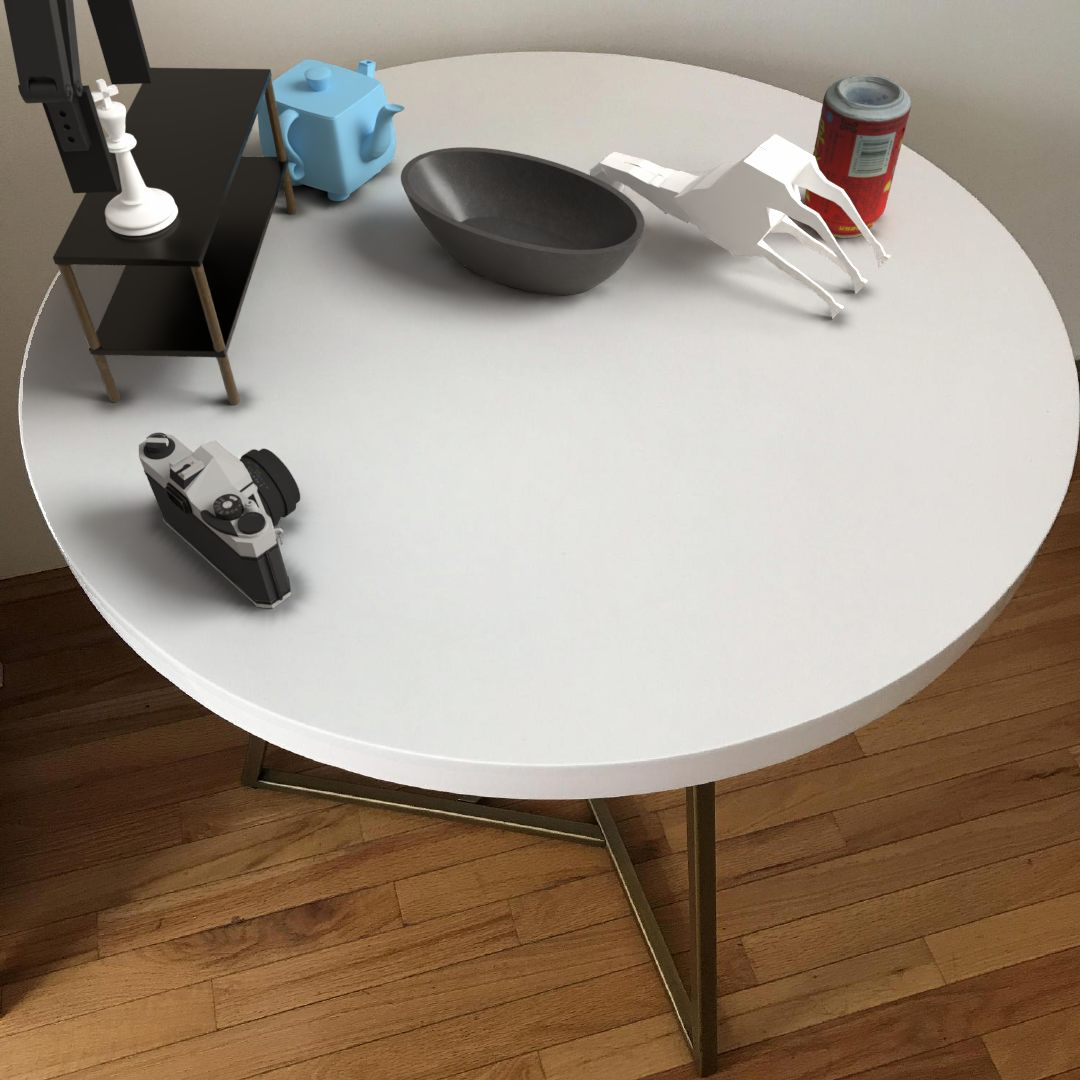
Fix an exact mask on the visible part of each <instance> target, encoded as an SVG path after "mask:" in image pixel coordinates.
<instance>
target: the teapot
mask: <svg viewBox="0 0 1080 1080" xmlns="http://www.w3.org/2000/svg"><path fill="white" fill-rule="evenodd" d="M376 65H377V64H376V61H374V60H371V59H364V60H361V61H358V65H357V68H356V70H355V71H354V70H352V69H348V68H345V67H341V66H338V65H336V64H335V65H334V64H330V63H327V62H324V61H319V60H315V59H307V58H306V59H304V60H303V61H301V62H300V63H298V64H296V65H295V66H293V67H291V68H290V69H289V70H287V71H286V72H284V73H282V74H281V75H280V76H278V77H277V78H275V79H274V80H272V84H273V89H274V95H275V100H276V105H277V110H278V116H279V121H280V126H281V131H282V136H283V142H284V147H285V152H286V157H287V158H288V168H289V173H290V178H291V183H292V187H296V186H297V187H298V186H302V185H305V186H307V187H311V188H314V189H317V190H321V191H324V192H327V198H328V199H329V200H330V201H334V202H341V201H345V200H347V199H348V198H349V197H351V196H350V195H351V194H352V193H354V192H355V191H356V190H358V189H359V188H360V187H362V186H363V185H365V183H367V182H368V181H369V180H371V179H372V178H374V176H376V175H377V174H379V173H380V172H381V171H382V170H383V169H384V168H385V167H386V166H387V165H389V163H390V162H392V161H394V158H395V156H396V151H397V150H396V148H397V139H396V131H395V126H394V120H393V119H394V116H395V115H396V114H398V113H400V112H403V111H405V107H404V106H403V105H401V104H395V103H389V101H388V97H387V94H386V91H385V87H384V85H383V84H384V83H382V82H381V81H379V80H378V79H376V78H375V77H376ZM257 124H258V125H257V126H258V135H259V142H260V143H259V144H260V148H261V149H260V150H261V154H262V157H277V155H276V150H275V145H274V140H273V135H272V129H271V124H270V119H269V114H268V109H267V104H266V99H265V95H264V98H263V100H262V103H261V106H260V108H259V111H258V114H257Z"/></svg>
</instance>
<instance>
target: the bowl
mask: <svg viewBox="0 0 1080 1080" xmlns="http://www.w3.org/2000/svg"><path fill="white" fill-rule="evenodd" d="M400 182H401V186H402V188H403V190H404V193H405V195H406V197H407V199H408V201H409V203H410V205H411V207H412V208H413V211H414V212H415V213H416V215H417V217H418V218H419V220H420V221H421V222H422V224H423V226H424V227H425V228H426V230H427V231H428V232H429V234H430V235H431V236H432V237H433V238H434V239H435V241H436V242H437V243H438V244H439V245H440V246H441V247H442V248H443V249H444V250H445V251H446V252H448V254H450V255H451V257H453V258H454V259H455V260H457V261H458V262H459V263H460V264H461V265H463V266H464V267H465V268H467V269H468V270H470V271H472V272H474V273H475V274H477V275H479V276H481V277H483V278H485V279H488V280H491V281H493V282H495V283H498V284H501V285H503V286H507V287H510V288H513V289H516V290H520V291H525V292H530V293H535V294H543V295H549V296H569V295H577V294H582V293H585V292H587V291H589V290H592V289H593V288H595V287H597V286H599V285H600V284H602V283H604V282H605V281H606V280H608V279H610V278H611V277H612V276H613V275H614V274H615V273H616V272H617V271H619V269H620V268H621V267H622V266H623V265H624V264H625V263H626V261H627V260H628V259H629V258H630V256H631V254H633V252H634V250H635V249H636V248H637V245H638V243H639V241H640V239H641V237H642V235H643V232H644V230H645V225H646V224H645V218H644V216H643V213H642V212H641V210H640V208H639V207H638V205H637V204H636V202H634V201H633V200H631V198H629V197H628V196H627V195H626V194H624V193H623V192H620V191H619V190H617V189H615V188H614V187H612V186H611V185H609V184H607V183H605V182H603V181H601V180H599V179H597V178H595V177H593V176H591V175H590V174H588V173H586V172H583V171H581V170H578V169H576V168H573V167H571V166H567V165H566V164H562V163H559V162H556V161H553V160H549V159H545V158H542V157H538V156H534V155H531V154H526V153H520V152H515V151H510V150H504V149H497V148H488V147H472V146H469V147H468V146H466V147H465V146H463V147H461V146H458V147H447V148H440V149H435V150H431V151H428V152H423V153H421V154H419V155H417V156H415V157H414V158H412V159H410V160H409V161H408V162H407V163H406V164H405V166H403V168H402V170H401V173H400Z"/></svg>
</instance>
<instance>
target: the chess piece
mask: <svg viewBox="0 0 1080 1080" xmlns="http://www.w3.org/2000/svg"><path fill="white" fill-rule="evenodd" d="M95 83H96V86H97V89H96V90H94V91H91V94H92V97H93V100H94V103H96V102H100V101H101V103H99V104H98V105H97V106H95V107H96V110H97V113H98V117H99V120H100V123H101V126H102V129H103V131H105V133H106V134H107V135H108V136H107V137H105V139H106V142H107V145H108V149H109V152H110V153H115V155H116V160H117V164H118V169H119V175H120V181H121V187H122V192H121V193H120V194H119V195H117V196H116V197H114V198H113V199H112V200H111V201H110V202H109V203H108V205H107V206H106V209H105V216H106V223H107V225H108V227H109V228H110V229H111V230H113V231H114V232H116V233H119V234H122V235H127V236H142V235H148V234H152V233H155V232H158V231H160V230H162V229H164V228H166V227H167V226H169V225H170V224H171V223H172V222H173V221H174V220H175V218H176V216H177V214H178V208H177V206H176V204H175V202H174V199H173V197H172V196H171V195H170V194H168V193H167V192H165V191H163V190H160V189H156V188H148V187H146V185H145V184H144V181H143V179H142V177H141V175H140V173H139V171H138V168H137V166H136V164H135V162H134V159H133V157H132V154H131V152H130V150H131V149H133V148H134V147H135V145H136V143H137V142H136V139H135V138H134V136H133V135H131V134H128V133H125V118H126V114H127V109H126V106H125V105H124V104H123V103H121V102H119V101H115V100H112V99H111V97H113V96H115V95H118V94H120V93H119V90H118V86H117V85H114V84H113V85H112V84H110V85H107V82H106V80H105V79H103V78H99V79H96V80H95Z"/></svg>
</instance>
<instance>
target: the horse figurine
mask: <svg viewBox="0 0 1080 1080" xmlns="http://www.w3.org/2000/svg"><path fill="white" fill-rule="evenodd" d="M588 173H589V175H591V176H593V177H595V178H597V179H599V180H601V181H603V182H605V183H607V184H609V185H611V186H612V187H614V188H615V189H617V190H619V191H620V192H621V193H623V191H624V187H625V186H626V187H628V188H630V189H631V190H633V192H636V193H637V194H638V195H640V196H641V197H643V198H644V199H646V200H647V201H648V202H650V203H651V204H652V205H653V206H654V207H656V208H657V209H659V210H660V211H661V212H663V214H666V215H667V214H668V215H670V216H672V217H674V218H676V219H678V220H680V221H682V222H684V223H686V224H691V225H694V226H695V227H697V229H698V230H699V231H700V232H701V233H702V234H703V236H704V237H706V238H707V239H709V240H710V241H712V242H713V243H715V244H717V245H718V246H719V247H721V248H723V249H724V250H725V251H727V252H729V253H730V254H732V255H733V256H740V257H755V258H756V257H758V258H764V259H766V260H767V261H768V262H769V263H770V264H773V265H774V266H775V267H776V268H777V269H779V270H780V271H781V272H783V273H786V274H787V275H788V276H791V277H792V278H794V279H796V280H797V281H799V282H800V283H802V284H803V285H804V286H806V287H807V288H808V289H809V290H811V291H812V292H813V293H815V294H816V295H817V296H818V297H819V298H820V299H822V300H823V302H825V304H827V306H828V309H829V311H830V315H831V319H832V320H834V318H836V316H837V315H838V314H839V313H840V312H841V311H842V310H843V309H844V308H845V306H844V305H842V304H840V303H839V302H836V301H835V299H834V298H833V296H832V295H831V294H830V293H829V292H828V291H827V290H825V289H824V288H823V287H822V286H821V285H820V284H819V283H816V282H815V281H814V280H812V279H811V278H810V277H809V276H807V275H806V274H805V273H804V272H802V270H800V269H798V268H797V267H796V266H794V265H793V264H791V263H789V261H787V260H786V259H785V258H783V257H782V256H780V255H779V254H778V253H777V252H775V251H774V250H773V249H772V248H771V247H770V246H769V245H768V244H767V243H766V242H765V241H764V238H765V237H766V236H767V235H768V234H769V233H773V234H774V233H777V234H778V233H779V234H790V235H791V236H792V237H794V238H795V239H796V240H798V241H799V242H801V243H802V244H803V245H804V246H806V247H808V248H810V249H811V250H813V251H815V252H817V253H818V254H820V255H822V256H824V257H825V258H827V259H828V260H829V261H831V262H832V263H834V265H836V266H837V267H838V268H840V269H841V270H842V271H843V272H845V273H846V275H848V277H850V280H851V282H852V284H853V288H854V289H853V290H854V294H855V295H856V294H858V292H860V291H861V289H862V288H863V287H864V286H865V285H866V284H867V283H868V282H869V280H868V279H866V278H864V277H863V276H862V275H861V274H860V271H859V269H858V268H857V267H856V266H854V265H853V263H852V261H850V259H849V257H848V256H847V255H846V253H845V252H844V250H842V247H840V245H839V244H838V242H837V240H836V237H834V236H833V235H832V233H831V232H830V230H829V228H828V227H827V225H826V223H825V222H824V220H823V219H822V218H821V216H820V215H819V213H817V212H816V211H814V210H812V209H811V208H809V207H807V206H806V204H804V203H803V202H802V201H801V200H802V197H801V194H800V191H799V187H800V188H803V189H805V190H806V189H808V190H810V191H812V192H814V193H816V194H818V195H820V196H822V197H824V198H826V199H829V200H831V201H834V202H835V203H836V204H838V205H839V206H841V207H842V209H843V210H844V211H845V212H846V214H847V215H848V216H849V217H850V218H851V220H852V221H853V222H854V223H855V224H856V226H857V227H858V229H859V230H860V231H861V233H862V234H863V235H862V236H863V237H864V239H865V240H866V242H867V243H868V245H869V246H870V248H871V249H872V252H873V253H874V256H875V258H876V262H877V267H878V269H880V268H881V267H883V265H884V264H885V263H886V262H887V261H888V260H890V258H891V257H892V255H891V254H886V251H885V250H884V248H883V245H882V243H880V242H879V240H877V239H876V238H875V236H874V235H873V233H872V232H871V229H870V230H869V229H868V228H867V226H866V225H865V223H864V222H863V220H862V219H861V217H860V215H859V214H858V212H857V210H856V209H855V207H854V205H853V203H852V202H851V200H850V198H849V197H848V196H847V194H846V193H845V191H844V190H843V189H842V188H840V187H838V186H837V185H835V184H833V183H832V182H830V181H828V180H827V179H826V177H825V176H824V175H823V174H822V173H821V171H820V170H819V168H818V165H817V162H816V159H815V156H813V154H811V153H810V152H808V151H806V150H805V149H802V148H801V147H799V146H798V145H795V143H792V142H790V141H789V140H787V139H785V138H784V137H781V136H780V135H778V134H776V133H774V134H773V135H772V136H770V137H769V138H768V139H766V140H765V141H764V142H763V143H761V144H760V145H759V146H757V147H756V148H755V149H753V150H752V151H751V152H750V153H749V154H747V155H746V156H744V157H742V159H741V160H737V161H731V162H724V163H721V164H719V165H718V166H717V167H714V168H712V169H710V170H707V171H704V172H702V173H701V174H700V175H694V174H691V173H688V172H686V171H682V170H675V169H672V168H671V167H667V168H666V167H663V166H661V165H658V164H656V163H654V162H652V161H650V160H648V159H645V158H641V157H636V156H632V155H628V154H624V153H621V152H618V151H613V152H611V153H610V154H608V155H607V156H606V157H604V158H603V159H602V160H601V161H599V162H598V163H597V164H595V165H594V166H593V167H592V168H591V169H589V172H588ZM624 185H625V186H624ZM791 218H792V219H794V220H795V221H798V222H800V223H802V224H805V225H807V226H808V227H810V228H812V229H813V230H814V231H816V232H817V233H818V236H820V237H821V239H823V241H824V242H825V243H826V244H827V246H826V245H825V244H823V243H822V242H821V241H819V240H817V239H816V238H814V237H813V236H811V235H810V234H809V233H807V232H806V231H805V230H804V229H802V228H801V227H799V226H798V225H797V224H796V223H795V222H794V221H793V220H792V219H791ZM828 247H829V248H828Z"/></svg>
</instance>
